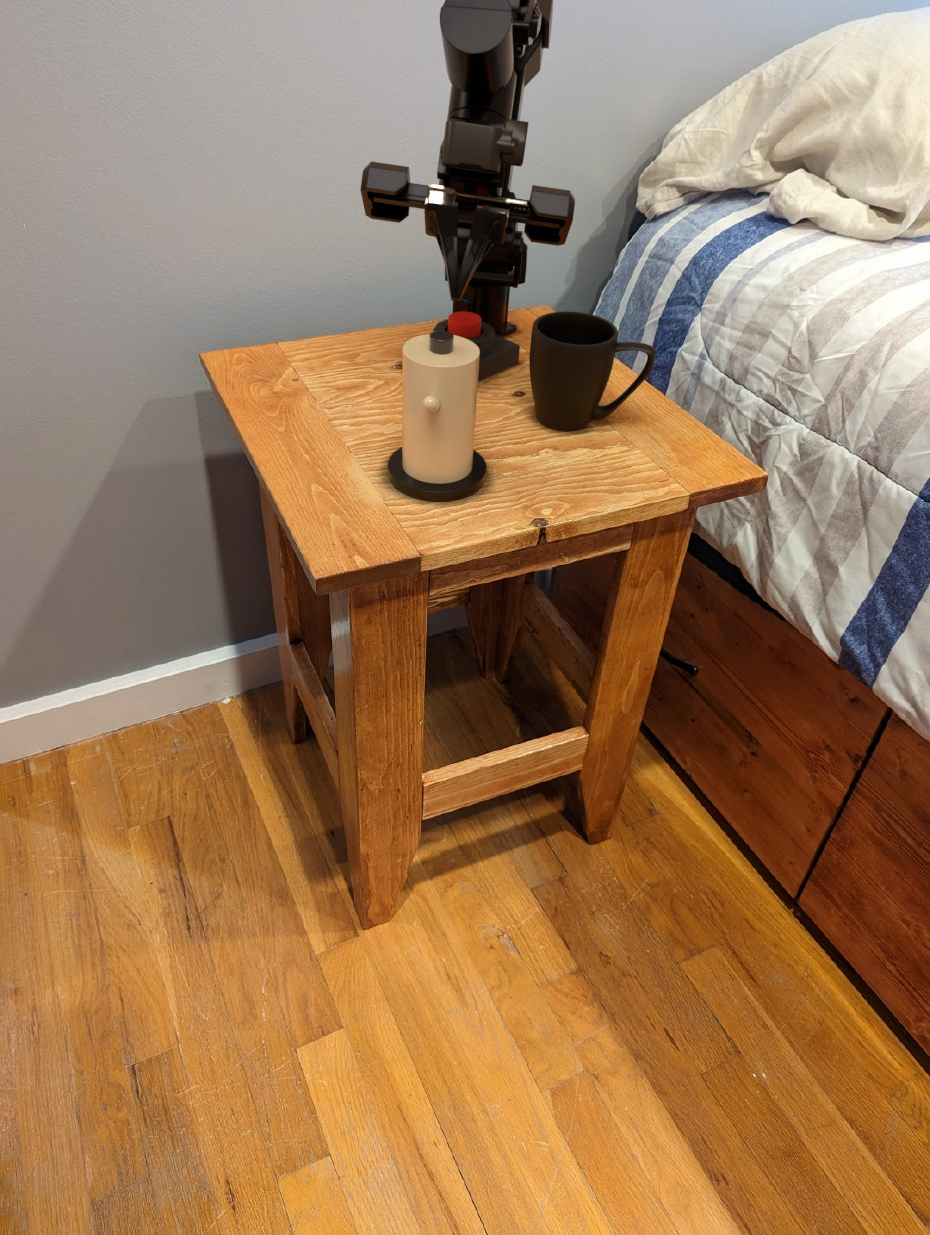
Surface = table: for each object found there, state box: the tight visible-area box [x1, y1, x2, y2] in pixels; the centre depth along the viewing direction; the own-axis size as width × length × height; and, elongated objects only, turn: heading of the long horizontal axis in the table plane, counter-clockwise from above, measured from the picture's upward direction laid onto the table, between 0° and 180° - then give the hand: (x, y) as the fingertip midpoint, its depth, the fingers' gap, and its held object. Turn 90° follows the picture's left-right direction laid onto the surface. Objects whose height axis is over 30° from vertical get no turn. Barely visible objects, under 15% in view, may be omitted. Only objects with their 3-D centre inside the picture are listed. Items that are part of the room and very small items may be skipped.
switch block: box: [432, 318, 521, 382], centre depth 95 cm, size 10×8×4 cm
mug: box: [528, 310, 657, 432], centre depth 85 cm, size 8×12×10 cm
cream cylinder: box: [401, 331, 480, 484], centre depth 74 cm, size 9×6×12 cm
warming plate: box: [387, 446, 488, 503], centre depth 79 cm, size 9×9×1 cm
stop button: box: [447, 312, 481, 338], centre depth 94 cm, size 4×4×2 cm
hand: (455, 299), depth 78 cm, fingers closed
